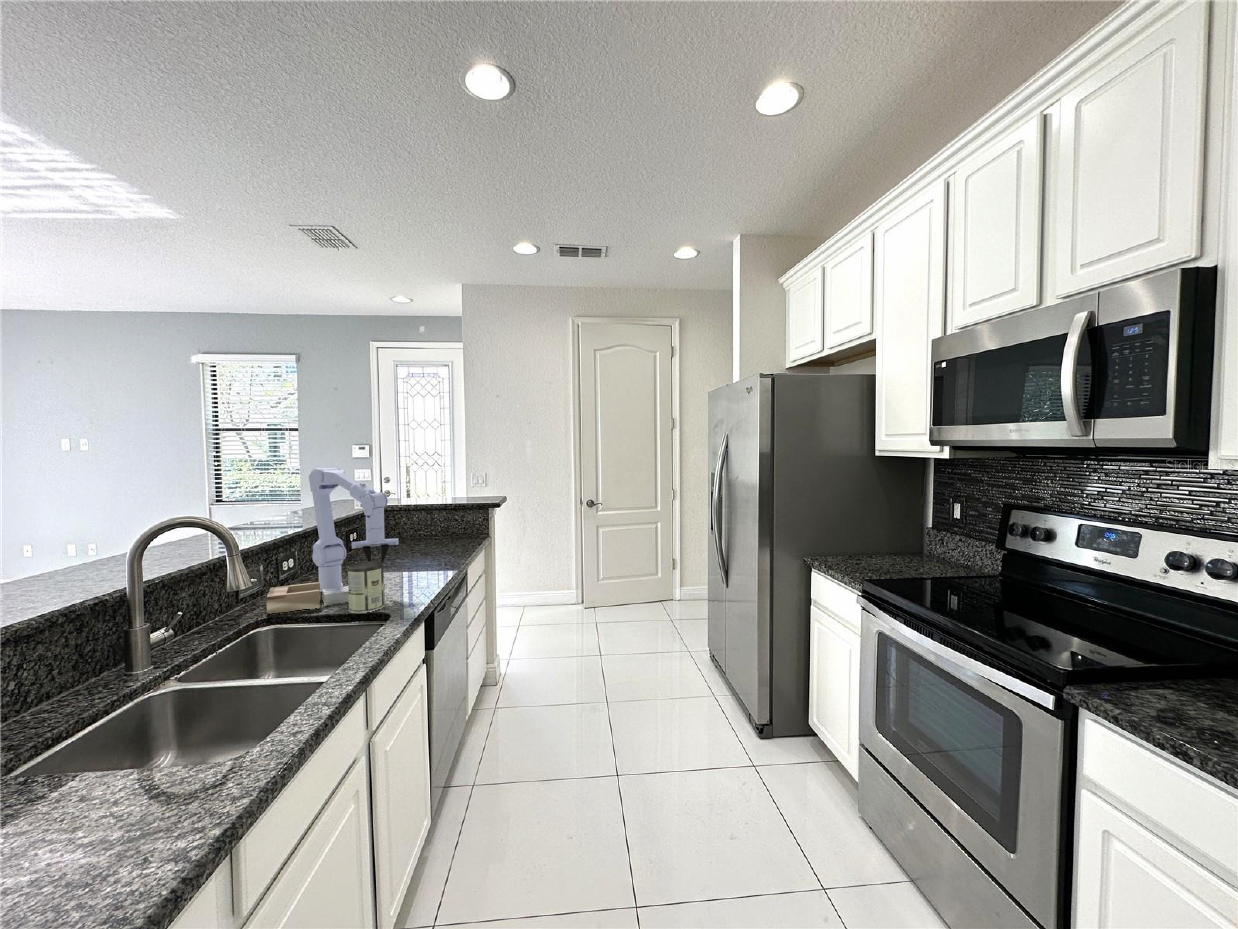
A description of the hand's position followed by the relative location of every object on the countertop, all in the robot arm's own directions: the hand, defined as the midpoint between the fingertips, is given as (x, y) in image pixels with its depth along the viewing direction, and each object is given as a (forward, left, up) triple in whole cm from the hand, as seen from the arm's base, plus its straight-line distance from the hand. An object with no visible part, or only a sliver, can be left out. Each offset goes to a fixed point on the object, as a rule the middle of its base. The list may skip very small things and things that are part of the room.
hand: (376, 567), depth 180 cm
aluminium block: (0, -11, -10) cm, 15 cm away
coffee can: (+15, -4, -10) cm, 19 cm away
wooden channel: (0, -24, -10) cm, 26 cm away
